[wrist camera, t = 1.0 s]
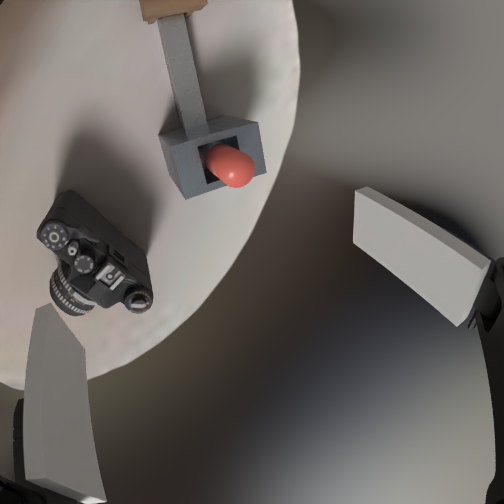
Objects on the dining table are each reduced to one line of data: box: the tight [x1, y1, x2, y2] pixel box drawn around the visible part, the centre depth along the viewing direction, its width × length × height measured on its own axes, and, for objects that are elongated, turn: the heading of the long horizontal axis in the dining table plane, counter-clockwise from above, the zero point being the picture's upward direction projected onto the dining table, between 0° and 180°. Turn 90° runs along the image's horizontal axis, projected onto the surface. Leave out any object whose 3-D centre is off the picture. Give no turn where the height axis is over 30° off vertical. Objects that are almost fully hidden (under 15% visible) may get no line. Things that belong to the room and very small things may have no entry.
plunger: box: [205, 144, 255, 188], centre depth 24 cm, size 3×3×4 cm
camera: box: [37, 191, 153, 316], centre depth 29 cm, size 14×11×10 cm
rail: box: [157, 13, 266, 200], centre depth 21 cm, size 32×8×9 cm, turn 11°
